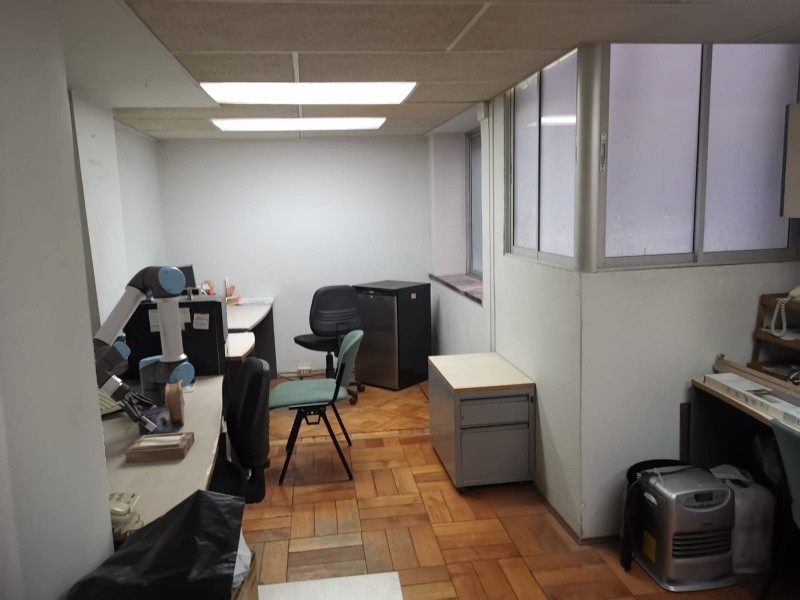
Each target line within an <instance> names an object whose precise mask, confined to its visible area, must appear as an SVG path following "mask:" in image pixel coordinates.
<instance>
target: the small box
mask: <svg viewBox="0 0 800 600" xmlns="http://www.w3.org/2000/svg"><path fill="white" fill-rule="evenodd" d="M139 412H140V414H141V416H142V417H143V416H144V417H146V418H147V419H148V420H150V421H151V422H152V423H153V424H155V425H156V426H157V427H156V428H155V429H154V430H153V431H152V432H151V431H150V430H149V429H147V428H146V427H145V426H143V425H142V424H141V423H140V422H138V430H139V431H138V432H139V436H143V435H153V434H167V433H171V432H172V427H171V421H170V409H169V408H166V407H163V406H159V407H155V408H152V409H149V410H145V411H142V410H141V411H139ZM172 433H173V432H172Z"/></svg>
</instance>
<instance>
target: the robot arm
mask: <svg viewBox="0 0 800 600" xmlns="http://www.w3.org/2000/svg"><path fill="white" fill-rule="evenodd" d="M185 287H186V278H185V275H184V273H183V272H182V270H180V269H179V268H177V267H175V266H169V265H164V266H163V265H161V266H159V265H157V266H156V265H154V266H153V265H150V266H145V267H143V268H142V269H140V270H138V272H136V273H135V274H134V275H133V276H132V278H131V279H130V280H129V281H128V283H127V284H126V286H124V290H125V291H124V292H123V294H122V295H121V297H120V298H119V301H117V303H116V305H115V306H114V307H113V309H112V310H111V312H110V313H109V315H108V316H107V318H106V319H105V321H104V322H103V324H101V326H100V328H99V329H98V331H97V332H96V334H95V335H94V337H93V338H92V340H93V343H94V352H95V363H96V373H97V382H98V387H97V388H98V389H99V390H100V391H101V392H102V393H103V394H105V395H106V396H109V398H110V399H111V400H113V401H114V402H115V403H118V407H120V408H121V409H122V410H123V411H124V412H125V414H126V415H127V416H128V417H129V419H130V420H131V421H132V422H134V423H135V424H138V423H139V422H140V423H141V424H142V425H143V426H145V427H146V428H147V429H149V430H150V431H151V432H152V431H153V430H154V429H155V428H156V427H157V426H156V425H155V424H153V423H152V422H151V421H150V420H148V419H147V418H146V417H144V416H143V417H142V416H141V414H140V412H142V411H145V410H149V409H152V408H155V407H159V406H163V407H166V405H165V387H166V384H167V383H169V384H175V383H178V382H179V381H180V380H183V384H182V389H184V388H186V387H188V386H189V385H190V384H191V382H192V381H193V379H194V378H195V368H194V366H193V365H192V363H190V362H188V361H189V360H188V356H187V355H186V353H184V347H183V337H182V327H181V318H180V308H179V299H180V298H181V296H182V292H183V291H184V288H185ZM151 294H152V299H153V300H154V301H155V302H156V303H157V304H156V305H157V315H158V322H159V323H158V324H159V325H158V326H159V334H160V341H161V349H162V350H161V352H162V354H161V355H155V356H149V357H146V358H143V359H141V360H140V361H139V368H138V369H139V376H140V383H141V384H140V385H141V393H139V392H138V391H136V390H134V389H133V390H132V391H130V390H131V388H132V387H131V386H130V385H129V384H127V383H125V382H123V379H121V378H119V376H117V375H116V374H114V373H113V372H114V370H115V369H116V368H118V367H119V366H120V365H121V364H122V363H123V362H125V361H126V359H127V358H128V357H129V356H130V355H131V349H130V347H129V346H128V345H127V344H126V343H125V342H122V341H120V340H117V338H118V336H119V335H120V333H121V332H122V330H123V329H124V327H125V326H126V325H127V323H128V322H129V320H130V319H131V317H132V315H133V314H134V312H136V309H137V308H138V306H140V304H141V302H142V301H145V300H146V299H147V297H148V296H150V295H151ZM116 340H117V341H116ZM115 341H116V342H115ZM137 406H139V409H141V410H139V409H138V407H137Z"/></svg>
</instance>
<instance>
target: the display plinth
mask: <svg viewBox="0 0 800 600" xmlns="http://www.w3.org/2000/svg"><path fill="white" fill-rule="evenodd" d="M194 441H195V431H183V432H172V433H167V434H153V435H143V436H140V435H139V436H138V438H136V439H135V440H134V441H133V443H132V444H131V445H130V446H129V447H128V449H126V451H124V455H125V461H126V464H128V463H129V464H130V462H133V463H143V462H144V461H146V462H157V460H159V461H169V459H171V460H182V459H183V460H184V459H185V458H186V456H187V455H188V453H189V451H190V450H191V449H190V448H192V447H193V445H194V444H195V442H196V441H195V442H194ZM193 443H194V444H193ZM191 446H192V447H191ZM144 463H145V462H144Z"/></svg>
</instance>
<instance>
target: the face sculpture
mask: <svg viewBox="0 0 800 600" xmlns="http://www.w3.org/2000/svg"><path fill="white" fill-rule="evenodd" d="M182 384H183V380H180V381H179V382H178V383H175V384H169V383H167V384H166V387H165V405H166V408H169V409H170V421H171V428H173V427H174V426H175V424H176V423H180V424H181V426H182V425H183V426H184V425H185V403H186V402H185V399H184V394H183V388H182ZM174 423H175V424H174ZM173 425H174V426H173Z"/></svg>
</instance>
